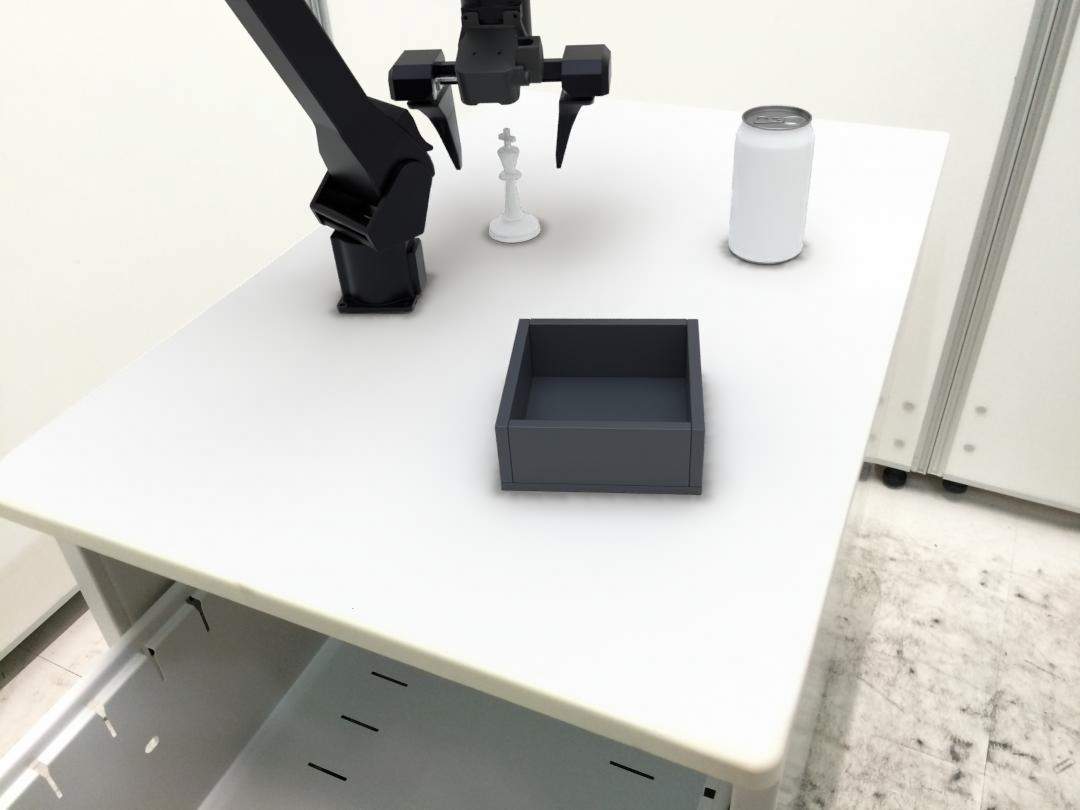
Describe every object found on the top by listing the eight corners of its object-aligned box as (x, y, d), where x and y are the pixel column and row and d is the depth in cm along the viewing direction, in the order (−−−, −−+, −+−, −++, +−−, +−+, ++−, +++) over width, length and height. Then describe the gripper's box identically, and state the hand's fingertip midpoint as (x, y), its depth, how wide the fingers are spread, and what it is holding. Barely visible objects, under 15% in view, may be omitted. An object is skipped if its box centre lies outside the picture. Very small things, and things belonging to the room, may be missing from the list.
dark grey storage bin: (501, 490, 60) (494, 426, 57) (524, 376, 70) (519, 318, 67) (701, 494, 58) (705, 430, 55) (695, 378, 68) (698, 318, 65)
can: (802, 267, 81) (819, 131, 74) (726, 264, 82) (734, 130, 75) (801, 233, 86) (816, 103, 79) (729, 231, 87) (737, 102, 80)
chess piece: (512, 215, 92) (503, 115, 87) (551, 227, 90) (545, 125, 84) (478, 234, 90) (467, 132, 84) (517, 247, 87) (509, 143, 81)
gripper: (357, 15, 71) (389, 206, 80) (604, 6, 69) (607, 204, 78) (391, -20, 80) (416, 156, 89) (610, -28, 78) (612, 153, 87)
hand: (508, 167), depth 86 cm, fingers open, 9 cm apart
